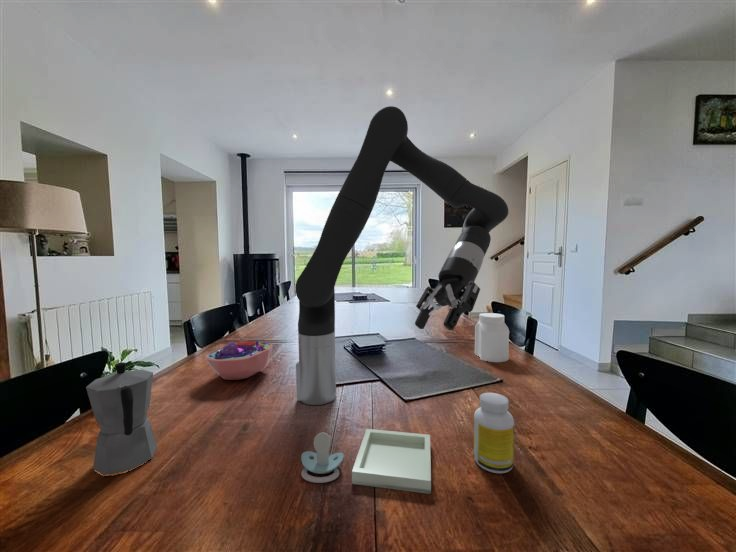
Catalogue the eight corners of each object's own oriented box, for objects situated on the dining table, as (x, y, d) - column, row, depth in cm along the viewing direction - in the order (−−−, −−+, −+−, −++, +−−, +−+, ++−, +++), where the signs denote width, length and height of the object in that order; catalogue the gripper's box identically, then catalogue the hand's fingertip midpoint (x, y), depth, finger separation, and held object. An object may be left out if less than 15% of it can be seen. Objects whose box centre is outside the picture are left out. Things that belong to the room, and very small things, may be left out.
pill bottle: (517, 478, 51) (519, 409, 50) (476, 472, 52) (477, 405, 51) (508, 453, 57) (509, 391, 56) (471, 449, 59) (472, 389, 58)
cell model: (286, 370, 99) (285, 335, 99) (229, 395, 83) (227, 353, 82) (252, 361, 108) (250, 329, 108) (194, 381, 92) (192, 343, 91)
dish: (352, 483, 50) (351, 471, 50) (366, 438, 62) (366, 428, 62) (430, 494, 48) (430, 480, 48) (430, 445, 60) (430, 434, 60)
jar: (512, 362, 105) (513, 318, 104) (483, 362, 105) (484, 318, 104) (497, 351, 116) (498, 311, 115) (472, 352, 116) (472, 312, 115)
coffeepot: (90, 454, 58) (83, 360, 57) (151, 434, 65) (146, 349, 63) (94, 501, 47) (86, 385, 46) (167, 471, 53) (161, 368, 52)
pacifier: (339, 487, 50) (345, 461, 56) (338, 450, 49) (344, 428, 55) (294, 484, 50) (305, 459, 56) (293, 448, 50) (304, 426, 56)
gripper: (429, 261, 75) (398, 317, 68) (477, 249, 62) (446, 316, 56) (448, 280, 77) (421, 336, 70) (498, 273, 65) (471, 339, 58)
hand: (432, 327), depth 63 cm, fingers open, 8 cm apart
